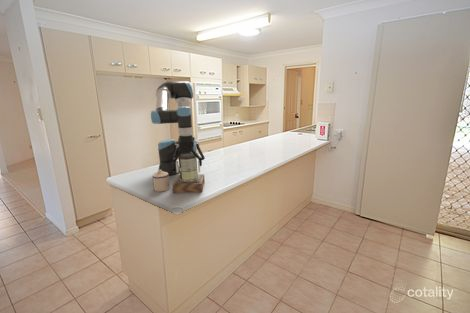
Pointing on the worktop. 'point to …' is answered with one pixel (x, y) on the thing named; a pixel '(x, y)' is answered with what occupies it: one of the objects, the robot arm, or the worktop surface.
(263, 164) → the worktop surface
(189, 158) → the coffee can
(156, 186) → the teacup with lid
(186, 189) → the riser block
